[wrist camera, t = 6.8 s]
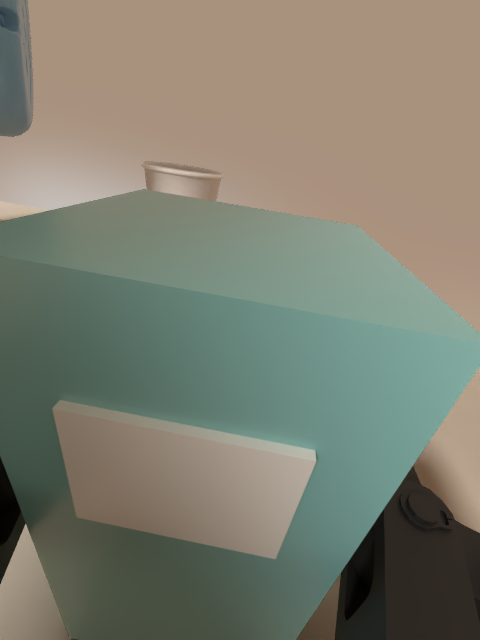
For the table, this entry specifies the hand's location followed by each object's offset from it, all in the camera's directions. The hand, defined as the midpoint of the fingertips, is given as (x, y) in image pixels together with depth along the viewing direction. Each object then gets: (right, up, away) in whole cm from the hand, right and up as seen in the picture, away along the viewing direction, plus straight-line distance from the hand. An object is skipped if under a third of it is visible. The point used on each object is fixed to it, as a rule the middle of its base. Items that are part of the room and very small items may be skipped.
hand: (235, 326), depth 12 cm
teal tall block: (-2, -8, -2) cm, 8 cm away
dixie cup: (-7, +7, +24) cm, 26 cm away
